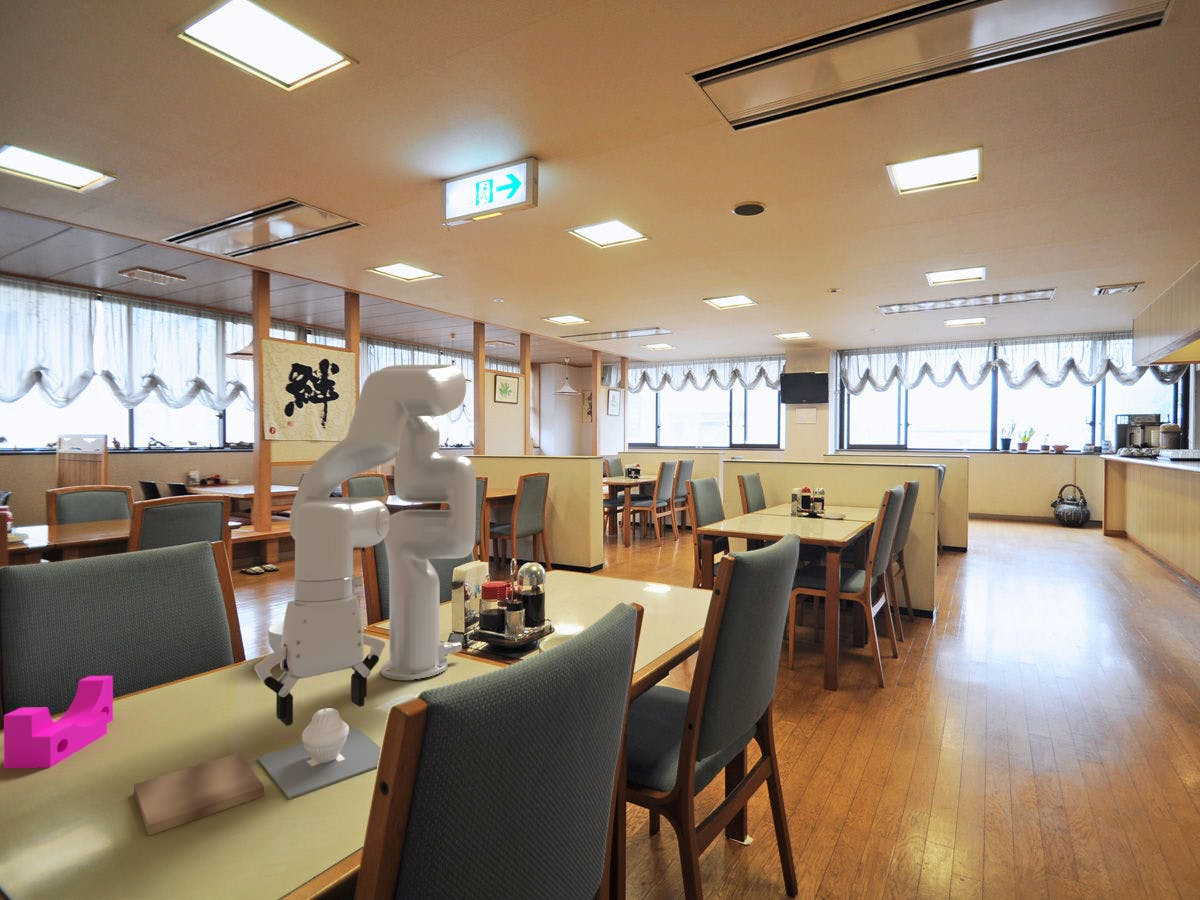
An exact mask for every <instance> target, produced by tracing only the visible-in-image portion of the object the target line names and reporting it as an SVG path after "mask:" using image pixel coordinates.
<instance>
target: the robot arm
mask: <svg viewBox="0 0 1200 900" xmlns="http://www.w3.org/2000/svg"><path fill="white" fill-rule="evenodd" d="M466 392H467V383H466V377H465V374H464V373H463V371H462V370H461V368H459V367H458V366H456V365H455V364H398V365H397V364H395V365H390V366H385V367H382V368H381V369H379V370H376V371H373V372H372V373H370V374H369V375H368V376H367V378H366V379H365V381H364V383H363V386H362V388H361V391H360V395H359V397H358V400H357V403H356V407H355V409H354V413H353V415H352V419H351V422H350V425H349V428H348V431H347V434H346V436H345V437H344V438H343V439H342V440H341V441H339V442H338V443H336V444H335V445H333V446H332V447H331V448H330V449H328V450H327V451H326V452H325V453H324V454H322V455H321V456H320V457H319V458H318V459H317V460H316V461H315V462H313V464H311V466H310V467H309V468H308V469H307V471H305V474H304V475H303V476H302V479H301V481H300V484H299V485H298V489H297V491H296V494H295V497H294V500H293V502H292V504H291V505H292V506H291V508H290V509H291V510H290V513H289V522H288V523H289V524H288V525H289V527H288V528H289V532H290V535H291V537H292V538H293V540H294V600H291V601H289V602H287V604H286V608H285V613H284V620H283V621H284V625H283V632H282V642H281V648H280V649H278V650H277V651H275V652H274V651H273V653H271V654H270V655H268V656H267V657H265V658H263V659H262V660H260V661H259V662H257V663H255V665H254V668H253V669H254V671H255V672H256V674H257V675H258V678H259V679H260V680H261V682H262V683H263V685H265V686H266V688H269V689H270V690H271V691H273V692H274V693H275V694H276V700H275V703H276V704H275V705H276V706H275V707H276V708H275V709H276V712H275V713H276V714H275V715H276V718H277V719H278V720H280V721H281V722H282V724H283V725H285V726H286V727H289V726H291V725H292V724H293V723H294V695H293V694H291V690H292V689H293V688H294V687H295V685H296V684H297V682H298V681H299V680H300V679H308V678H311V677H316V676H321V675H324V674H331V673H333V672H339V671H342V670H347V669H352V670H353V673H352V674H351V675H350V676H351V677H350V701H351V703H353V704H354V705H356V706H357V707H359V708H361V707H364V706H365V698H367V696H368V695H367V694H368V693H367V692H368V684H367V683H368V682H367V681H368V677H370V675H371V671H372V670H373V669H374V668H375V666H376V665H377V664H378V662H379V661H380V656H381V654H382V652H383V650H384V648H385V646H386V642H385V641H383V640H381V639H378V638H375V637H373V636H370V635H366V634H364V633H363V623H362V614H361V608H360V605H359V600H358V599H359V598H358V596H357V595H356V594H355V589H357V588H358V587H362V585H363V578H362V577H361V576H360V577H356V576H355V575H354V548H369V547H373V546H375V545H378V544H380V543H381V542H382V541H383V540H384V545H385V551H386V555H387V556H386V558H387V561H388V562H387V563H388V573H389V574H388V578H389V579H388V582H389V590H388V591H389V605H388V606H389V608H388V609H389V660H386V662H384V663H383V664H382V665H381V675H382V676H383V677H385V678H387V679H389V680H393V681H394V680H395V681H415V680H414V679H419V680H421V679H420V678H424V677H428V676H432V675H436V674H438V675H440V674H442V673H444V672H445V671H446V670H447V669H448V665H449V664H448V663H449V661H448V659H447V656H449V654H454V653H458V652H461V651H462V650H463V645H462V643H461V642H460V641H456V642H453V643H450V642H449V641H444V642H442V641H441V639H440V637H441V636H440V631H441V630H440V628H441V627H440V625H441V624H440V622H441V621H440V619H441V618H440V617H441V615H440V608H441V607H440V579H439V575H438V573H437V570H436V569H435V567H434V566H433V565H432V563H431V562H430V560H431V559H448V560H450V559H455V560H457V559H464V558H467V557H468V556H470V555H471V553H472V552H473V550H474V547H475V541H476V528H477V527H476V523H477V522H476V520H477V519H476V517H477V516H476V515H477V513H476V512H477V474H476V470H475V469H476V468H475V467H474V464H473V462H472V460H470V459H469V458H468V457H466V456H463V455H458V454H456V455H455V454H451V455H450V454H449V455H448V454H444V455H443V454H442V455H441V454H440V436H441V435H440V434H441V433H440V430H439V427H438V425H437V424H436V422H435V420H434V419H433V418H432V417H440V416H444V415H446V414H448V413H450V412H452V411H454V410H456V409H457V408H459V407H460V406H461V405H462V404H463V402H464V399H465V397H466ZM391 460H394V475H393V476H394V477H393V479H394V480H393V481H394V483H393V484H394V492H395V495H396V497H397V498H398V499H399V500H401V501H402V502H407V503H417V504H420V503H421V504H422V503H423V504H448V505H449V508H450V509H405V510H400V511H396V512H394V513H393V514H391V513H390V511H389V509H388V507H387V506H386V504H385V503H384V502H382V501H380V500H379V499H376V498H373V497H348V496H347V497H346V496H345V497H344V496H343V497H342V496H341V497H340V496H339V497H338V496H337V497H336V496H334V497H333V496H331V494H332V493H333V492H334V491H335V489H336V488H338V487H339V486H340V485H341V484H343V483H344V482H346V481H347V480H349V479H351V478H353V477H355V476H358V475H360V474H362V473H366V472H367V471H371V470H372V469H375V468H377V467H379V466H382V465H384V464H386V463H388V462H390V461H391ZM364 645H365V646H368V647H370V650H369V653H368V654H367V656H366V657H364ZM363 658H364V659H363ZM279 663H280V669H281V671H283V673H281V675H280V676H279V678H277V679H276V678H274V676H273V674H272V672H271V670H272V668H274V667H275V666H277V665H278V664H279ZM443 671H444V672H443ZM441 672H442V673H441ZM439 673H440V674H439ZM436 676H437V675H436ZM432 677H433V676H432Z"/></svg>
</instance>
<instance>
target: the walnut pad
mask: <svg viewBox="0 0 1200 900" xmlns="http://www.w3.org/2000/svg"><path fill="white" fill-rule="evenodd" d="M133 795H134V799H135V801H136V803H137V806H138V807H137V808H138V809H139V812H140V815H141V818H142V821H143V824H144V827H145V829H146V832H147V835H148V836H152V835H155V834H158V833H162V832H163V831H166V830H169V829H172V828H176V827H178V826H181V825H184V824H187V823H191V822H193V821H195V820H198V819H199V820H200V819H202V818H205V817H207V816H210V815H213V814H216V813H219V812H222V811H224V810H228V809H230V808H234V807H236V806H239V805H242V804H245V803H247V802H250V801H254V800H256V799H259V798H262V797H265V785H264V784H263V783H262V782H261V780H260V779H259V778H258V776H257V775H256V773H255V772H254V771H253V769H252V767H250V765H249V764H248V763H247V761H246V760H245V759H244V757H243V756H242V754H241V753H240V752H238V753H234V754H231V755H228V756H227V755H226V756H225V757H222V758H217V759H214V760H211V761H207V762H204V763H201V764H197V765H193V766H190V767H188V768H187V767H186V768H184V769H180V770H177V771H174V772H170V773H167V774H164V775H161V776H156V777H153V778H150V779H147V780H143V781H140V782H136V783H134V784H133Z"/></svg>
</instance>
